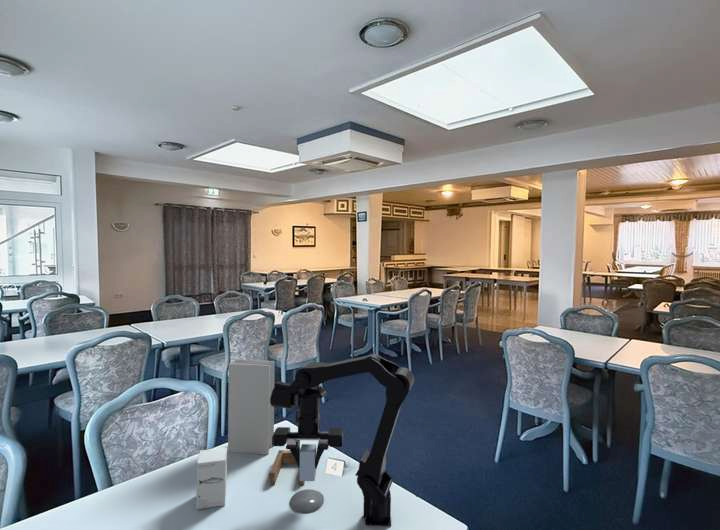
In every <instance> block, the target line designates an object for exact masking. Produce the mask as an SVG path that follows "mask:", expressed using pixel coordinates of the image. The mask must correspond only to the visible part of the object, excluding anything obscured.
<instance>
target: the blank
mask: <svg viewBox="0 0 720 530" xmlns="http://www.w3.org/2000/svg"><path fill="white" fill-rule="evenodd" d="M316 453H317V444H316V443H315V444H314V443H313V444H311V443H309V444H308V443H306V444H304V443H301V445H300V468H299V471H300V481H305V482H315V480H316V476H317V469H315V461H316Z"/></svg>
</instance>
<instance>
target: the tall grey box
mask: <svg viewBox="0 0 720 530" xmlns="http://www.w3.org/2000/svg"><path fill="white" fill-rule="evenodd" d="M275 365H276V362H275V361H274V360H261V359H260V360H257V359H256V360H255V359H253V360H252V359H234V363H228V388H227V389H228V392H227V393H228V396H227V397H228V398H227V400H228V403H227V404H228V408H227V410H228V411H227V412H228V413H227V416H228V417H227V418H228V419H227V420H228V421H227V423H228V424H227V425H228V426H227V452H231V453H242V454H243V453H245V454H257V455H258V454H260V455H269V454H270V453H269V451H270V448H273V447H275V446H272V436H273V434H274V432H275V407H273V406H271V403H270V397H271V394H272V391H273V389H274V385H275V377H276V376H275V375H276V373H275V367H276V366H275Z"/></svg>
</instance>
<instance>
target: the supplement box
mask: <svg viewBox="0 0 720 530" xmlns="http://www.w3.org/2000/svg"><path fill="white" fill-rule="evenodd" d="M227 464H228V447H220V448H219V447H218V448H212V449H211V448H210V449H202V450H199V453H198V457H197V463H196V498H195V499H196V500H195V501H196V505H195V506H196V507H195V510H197V511H198V510H201V509H208V508H215V507H223V506H225V504H226V496H227V472H228V471H227V469H228V468H227Z"/></svg>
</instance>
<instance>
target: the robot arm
mask: <svg viewBox="0 0 720 530" xmlns="http://www.w3.org/2000/svg"><path fill="white" fill-rule="evenodd" d="M366 373H367V374H368V373H369V374H370V375H372V377H374V378H375V380H376V381H377V382H378V383H379V384H380V385H382V386H383V387H384V388H385V405H384V407H383V411H382V415H381V417H380V420H379V421H380V422H379V424H378V427H377V431H376V434H375V437H374V440H373V443H372V447H371V449H370V451H369V450H368V449H366V450H365V452H364V453H363V455H362V457H361V458H360V460H359V464H358V469H357V471H356V473H355V476H356V484H357V485H358V487H359V489H361V493H362V495H363V518H364V522H365V526H381V527H382V526H387V527H388V526H391V525H392V515H391V513H392V510H391V509H392V504H391V503H392V496H391V489H390V488H391V487H392V484H393V481H394V479H393V477H392V476H391V475H390V474H389V472H388V471H387V470H386V464H387V452H388V448H389V446H390V442H391V440H392V439H391V438H392V436H393V432H394V431H395V430H394V429H395V427H396V424H397V419H398V418H399V414H400V411H401V408H402V405H403V403H404V402H405V399H406V398H407V396H408V394H409V392H410V390H411V389H412V386H413V384H414V382H415V376H414V374H413V372H412V371H411V369H408V367H401V366H399V365H398V364H397V363H395V362H394V361H390V360H388V359H386V358H383V357H382V356H381V355H379V354H377V353H371V354H368V355H364V356H360V357H354V358H350V359H344V360H340V361H334V362H321V361H317V362H316V361H315V362H309V363H307V364H305V365H304V366H302V367H300V368H299V369H298V370H297V371H296V373H295V376H294V378H295V379H294V380H293V382H292V383H289V382H285V381H280V380H279V381H277V382H274V389H273V391H272V394H271V397H270V403H271V406H273V407H274V408H280V409H287V410H293V409H294V408H295V407H297V410H296V412H295V423H296V424H297V431H296V432H295V431H291V427H289V426H287V427H286V426H283V427H282V426H281V427H280V426H277V428H276V429H274V434H273V436H272V446H274V447H284V446H285V449H286V450H290V451H291V453H292V454H293V456H294V458H295V460H296V462H297V464H296V465H297V468H299V469H300V449H301V441H318V442H317V446H316V461H315V469H316V470H317V468H318V467H319V463H320V460H321V457H322V455H323V453H324V451H327V450H329V447H330V448H342V447H343V445H344V444H343V442H344V441H343V440H344V430H343V428H342V427H328V431H321V432H320V430H321V414H320V399H323V398H324V397H326V395H327V394H328V391H327V390H326V389H324V388H323V387H322V386H321V384H323V383H326V382H328V381H329V380H336V379H341V378H346V377H351V376H356V375H361V374H366ZM317 386H319V387H317ZM315 387H317V388H315Z"/></svg>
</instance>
